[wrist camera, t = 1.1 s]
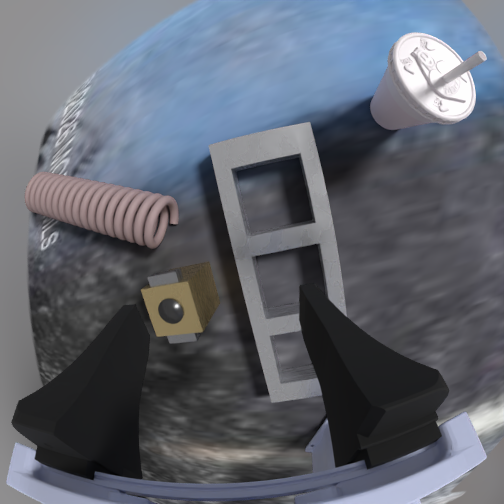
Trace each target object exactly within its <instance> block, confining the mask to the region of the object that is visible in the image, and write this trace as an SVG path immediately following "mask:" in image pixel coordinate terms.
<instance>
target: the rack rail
mask: <svg viewBox="0 0 504 504" xmlns="http://www.w3.org/2000/svg"><path fill="white" fill-rule="evenodd" d="M209 149H210V153H211V158H212V162H213V167H214V171H215V176H216V180H217V185H218V189H219V193H220V198H221V202H222V206H223V211H224V215H225V219H226V223H227V228H228V232H229V236H230V240H231V245H232V249H233V253H234V257H235V261H236V265H237V269H238V273H239V278H240V282H241V286H242V290H243V294H244V298H245V302H246V306H247V310H248V314H249V318H250V322H251V326H252V330H253V334H254V337H255V341H256V345H257V349H258V353H259V357H260V361H261V364H262V368H263V372H264V376H265V380H266V383H267V387H268V391H269V395H270V398H271V402H281V401H288V400H295V399H302V398H308V397H314V396H320V395H322V392H321V388H320V384H319V381H318V378H317V375H316V373H315V370H314V367H313V364H310V365H305V366H299V367H292V368H286V369H281V365H280V361H279V357H278V352H277V348H276V343H275V339H274V335H278V334H284V333H289V332H295V331H301V325H300V321H299V302H297V303H291V304H286V305H280V306H275V307H269V308H267V303H266V299H265V294H264V290H263V286H262V281H261V277H260V272H259V268H258V264H257V259H256V256H258V255H263V254H268V253H273V252H278V251H283V250H288V249H293V248H298V247H303V246H308V245H313V244H317V246H318V251H319V257H320V263H321V269H322V275H323V281H324V287H325V293H326V297H327V298H328V299H329V300H330V301H331V302H332V303H333V304H334V305H335V306H336V307H337V308H338V309H339V310H340V311H341V312H342V313H343V314H344V315H345V316H346V317H347V315H346V306H345V298H344V290H343V283H342V275H341V269H340V262H339V256H338V249H337V243H336V238H335V232H334V226H333V221H332V216H331V210H330V205H329V200H328V196H327V191H326V186H325V182H324V177H323V173H322V168H321V164H320V160H319V156H318V151H317V147H316V143H315V140H314V136H313V132H312V128H311V124H310V122H307V123H302V124H296V125H291V126H286V127H281V128H276V129H271V130H267V131H262V132H258V133H253V134H249V135H245V136H241V137H237V138H233V139H229V140H226V141H222V142H218V143H215V144H211V145H209ZM294 158H299V160H300V165H301V169H302V173H303V178H304V182H305V186H306V191H307V196H308V200H309V205H310V210H311V215H312V220H309V221H304V222H299V223H295V224H290V225H285V226H280V227H275V228H270V229H266V230H261V231H256V232H251V233H250V228H249V224H248V220H247V215H246V211H245V207H244V202H243V198H242V193H241V189H240V185H239V180H238V176H237V172H236V171H240V170H244V169H248V168H252V167H257V166H261V165H265V164H270V163H275V162H279V161H284V160H289V159H294Z"/></svg>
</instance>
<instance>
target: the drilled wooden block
mask: <svg viewBox="0 0 504 504" xmlns="http://www.w3.org/2000/svg"><path fill="white" fill-rule="evenodd" d="M148 280H149V284H148V285H147V286H145V287H144V288H142V289H141V292H142V295H143V298H144V301H145V304H146V307H147V310H148V313H149V316H150V319H151V322H152V324H153V327H154V330H155V333H156V335H157V337H160V336H167V338H168V340H169V343H182V342H192V341H197V340H198V339H199V337H200V332H203V331H204V329H205V328H206V326H207V324H208V323H209V321H210V319H211V317H212V316H213V314H214V312H215V311H216V309H217V307H218V306H219V304H220V300H219V297H218V293H217V289H216V286H215V282H214V278H213V274H212V271H211V267H210V263H209V262H205V263H200V264H195V265H190V266H185V267H180V268H175V269H170V270H168V271H164V272H159V273H154V274H152V275H150V276H149V277H148Z"/></svg>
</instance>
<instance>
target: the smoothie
mask: <svg viewBox="0 0 504 504" xmlns="http://www.w3.org/2000/svg"><path fill="white" fill-rule="evenodd" d="M484 61H486V56H485V54H484V53H483V52H482V51H479V52H477V53H476V54H474V55H473V56H471V57H470V58H468V59H467V60H465V61H464V62H463V60H462V59H461V58H460V56H459V55H458V54H457V53H456V52H455V51H454V50H453V49H452V48H451V47H449V46H448V45H447V44H446V43H444V42H443V41H441V40H439V39H437V38H435V37H433V36H431V35H428V34H424V33H409V34H406V35H404V36H402V37H401V38H400V39H399V40H398V41H397V42H396V43H394V44H393V46H392V48H391V49H390V51H389V56H388V67H387V69H386V71H385V73H384V76H383V78H382V80H381V82H380V84H379V86H378V88H377V90H376V92H375V94H374V96H373V98H372V100H371V103H370V110H371V114H372V116H373V118H374V120H375V121H376V122H377V123H378V124H379V125H380V126H382V127H383V128H385V129H388V130H397V129H402V128H407V127H412V126H417V125H422V124H427V123H434V122H436V123H440V124H454V123H456V122H458V121H460V120H462V119H464V118H466V117H467V116H468V115H469V114H470V113H471V112H472V110H473V108H474V105H475V99H476V93H475V86H474V82H473V79H472V76H471V74H470V72H469V70H471V69H472V68H474V67H476V66H477V65H479V64H481V63H482V62H484Z"/></svg>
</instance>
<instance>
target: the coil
mask: <svg viewBox="0 0 504 504" xmlns="http://www.w3.org/2000/svg"><path fill="white" fill-rule="evenodd" d="M25 203H26V206H27V208H28V209H29V210H30V211H31V212H33V213H37V214H41V215H43V216H47V217H49V218H53V219H55V220H59V221H62V222H65V223H68V224H72V225H74V226H78V227H81V228H85V229H87V230H93V231H94V232H97V233H99V232H100V233H102V234H104V235H109V236H111V237H114V238H115V237H118V238H119V239H121V240H127V241H128V242H131V243H135V242H136V243H137V244H138V245H141V246H144V245H147V247H149V248H151V249H153V248H156V247H157V246H158V245H159V244H160V243H161V242H162V240H163V238H164V235H165V232H166V229H167V224H168V215H169V210H170V224H178V217H179V212H178V205H177V203H176V201H175V199H174V198H173V197H171V196H163V195H161V194H159V193H155V194H153V193H151V192H149V191H145V192H143V191H142V190H139V189H135V190H134V189H132V188H130V187H126V188H125V187H123V186H120V185H117V186H116V185H114V184H107V183H104V182H98V181H91V180H89V179H83V178H77V177H71V176H65V175H59V174H53V173H48V172H40V173H38V174H36V175H35V176H33V177H32V178H31V180H30V181H29V183H28V185H27V187H26V191H25ZM107 205H108V207H107ZM168 206H169V210H168ZM150 208H151V210H150ZM149 211H150V212H149ZM114 213H115V215H114ZM159 213H160V222H159V227H158V230H157V233H156V235H155V237H154V238H153V236H154V233H155V231H156V228H157V224H158V217H159ZM104 217H105V218H104ZM133 233H134V234H133ZM143 234H144V236H143Z"/></svg>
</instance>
